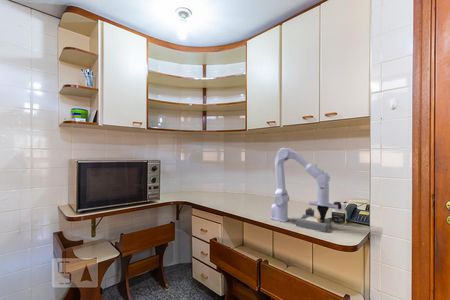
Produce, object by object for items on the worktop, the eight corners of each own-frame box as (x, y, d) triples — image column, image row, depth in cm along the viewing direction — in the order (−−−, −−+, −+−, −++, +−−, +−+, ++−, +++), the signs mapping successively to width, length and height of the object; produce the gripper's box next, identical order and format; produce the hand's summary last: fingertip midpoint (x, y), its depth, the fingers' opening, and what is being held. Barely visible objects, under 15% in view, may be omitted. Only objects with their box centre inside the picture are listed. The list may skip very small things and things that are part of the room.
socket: (296, 226, 124) (296, 218, 124) (303, 220, 133) (303, 214, 133) (325, 232, 115) (325, 224, 115) (330, 226, 124) (330, 219, 124)
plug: (305, 220, 135) (305, 208, 135) (307, 218, 138) (307, 206, 138) (312, 221, 132) (312, 209, 132) (314, 219, 135) (314, 207, 135)
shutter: (305, 220, 123) (305, 215, 123) (309, 217, 129) (309, 213, 129) (319, 223, 119) (319, 218, 119) (322, 220, 124) (322, 215, 124)
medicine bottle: (331, 223, 129) (331, 202, 129) (333, 220, 135) (333, 200, 135) (345, 225, 125) (345, 204, 126) (346, 222, 131) (346, 202, 131)
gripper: (339, 195, 120) (339, 220, 120) (311, 192, 129) (311, 215, 128) (336, 197, 114) (336, 224, 114) (307, 194, 123) (307, 218, 123)
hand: (322, 220), depth 121 cm, fingers closed
